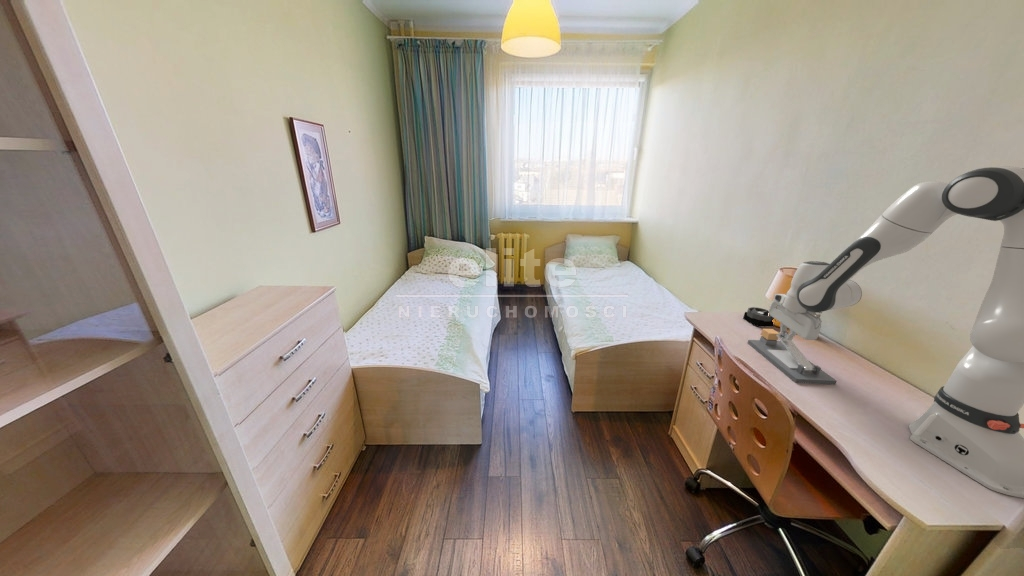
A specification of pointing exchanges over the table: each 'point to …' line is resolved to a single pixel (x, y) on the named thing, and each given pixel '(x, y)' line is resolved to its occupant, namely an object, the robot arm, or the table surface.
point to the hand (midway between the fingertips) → (785, 337)
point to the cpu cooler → (758, 317)
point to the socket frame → (789, 362)
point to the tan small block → (769, 334)
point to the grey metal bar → (796, 353)
